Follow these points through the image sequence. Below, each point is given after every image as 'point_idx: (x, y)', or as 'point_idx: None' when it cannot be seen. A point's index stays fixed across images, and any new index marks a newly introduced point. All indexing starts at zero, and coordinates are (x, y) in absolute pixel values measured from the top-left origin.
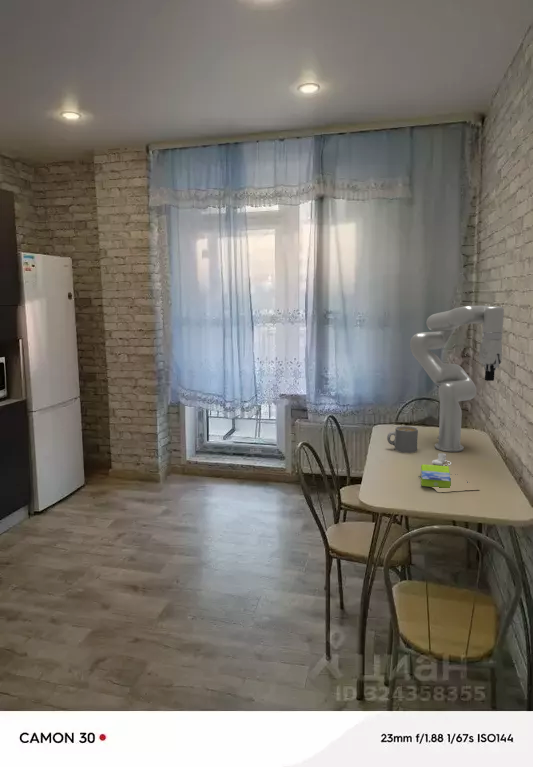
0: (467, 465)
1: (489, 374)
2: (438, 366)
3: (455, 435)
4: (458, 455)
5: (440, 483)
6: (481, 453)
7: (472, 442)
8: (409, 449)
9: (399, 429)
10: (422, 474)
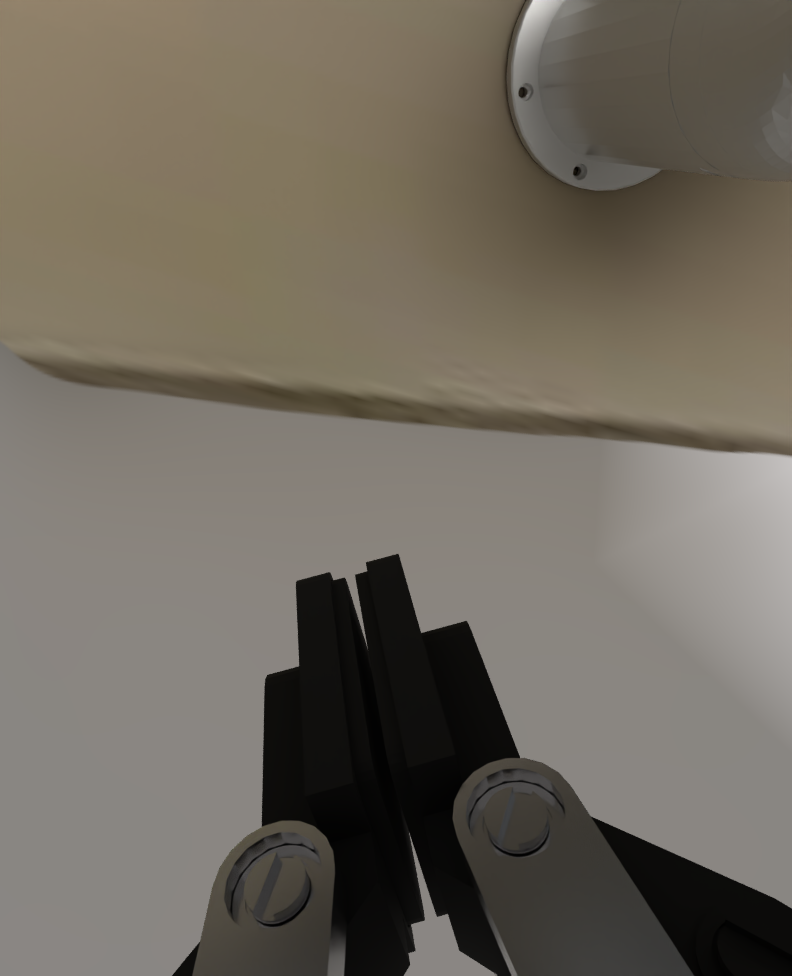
0: (169, 94)
1: (290, 758)
2: None
3: (584, 92)
4: (426, 97)
5: None
6: (479, 295)
7: (733, 307)
8: None
9: None
10: None
